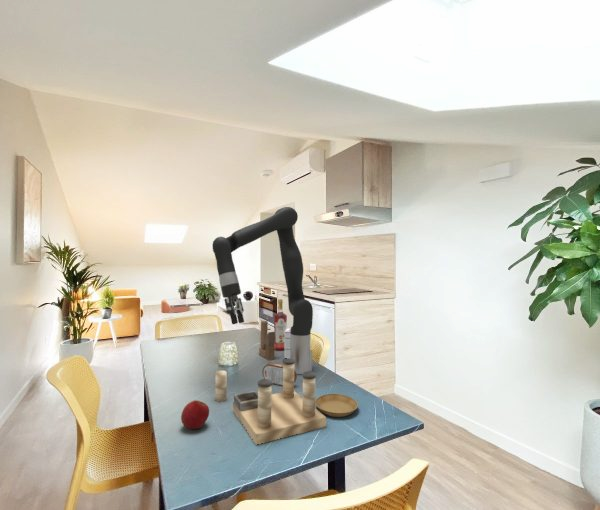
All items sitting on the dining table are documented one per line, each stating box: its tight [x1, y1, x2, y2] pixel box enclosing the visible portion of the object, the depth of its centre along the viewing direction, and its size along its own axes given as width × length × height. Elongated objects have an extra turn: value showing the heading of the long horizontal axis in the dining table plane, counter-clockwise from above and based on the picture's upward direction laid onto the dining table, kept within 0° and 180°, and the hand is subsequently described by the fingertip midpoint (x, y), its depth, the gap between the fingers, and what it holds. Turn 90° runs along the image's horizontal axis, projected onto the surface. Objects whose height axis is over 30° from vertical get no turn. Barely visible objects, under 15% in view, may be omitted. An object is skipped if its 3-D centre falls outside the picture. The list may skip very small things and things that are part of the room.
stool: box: [232, 358, 327, 446], centre depth 110 cm, size 23×23×16 cm
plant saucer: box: [315, 393, 359, 418], centre depth 117 cm, size 15×15×3 cm
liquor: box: [273, 298, 288, 351], centre depth 189 cm, size 7×7×28 cm
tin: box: [261, 361, 298, 387], centre depth 138 cm, size 15×3×8 cm, turn 65°
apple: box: [180, 399, 210, 430], centre depth 104 cm, size 8×8×8 cm
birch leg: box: [214, 369, 228, 403], centre depth 123 cm, size 4×4×10 cm
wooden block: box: [258, 320, 276, 361], centre depth 174 cm, size 4×11×18 cm, turn 33°
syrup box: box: [283, 327, 291, 359], centre depth 174 cm, size 6×6×14 cm
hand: (238, 323), depth 136 cm, fingers open, 8 cm apart
